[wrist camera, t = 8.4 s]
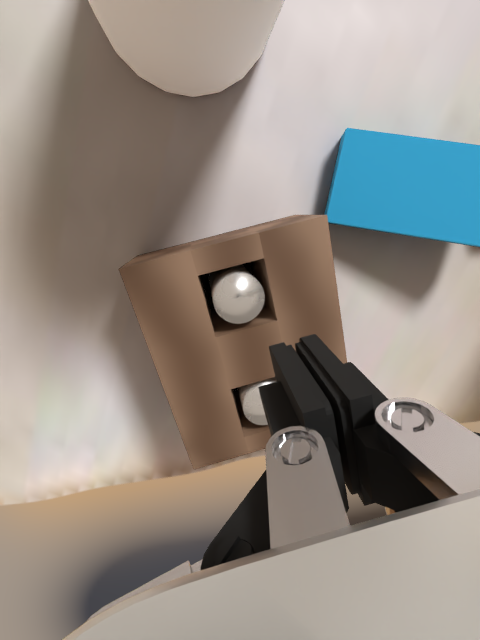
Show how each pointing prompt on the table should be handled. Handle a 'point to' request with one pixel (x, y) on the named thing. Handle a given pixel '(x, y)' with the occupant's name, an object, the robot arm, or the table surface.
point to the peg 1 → (236, 294)
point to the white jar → (188, 39)
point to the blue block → (407, 186)
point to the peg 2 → (254, 401)
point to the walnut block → (232, 324)
